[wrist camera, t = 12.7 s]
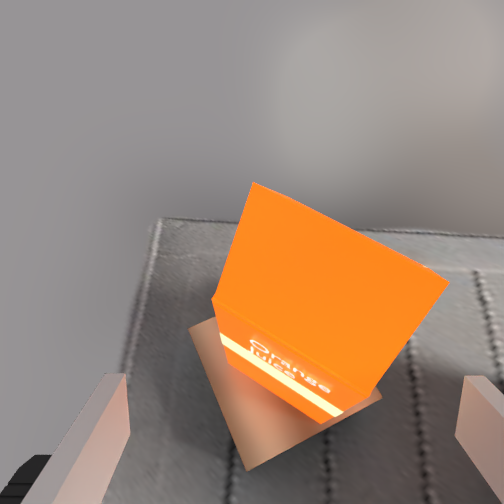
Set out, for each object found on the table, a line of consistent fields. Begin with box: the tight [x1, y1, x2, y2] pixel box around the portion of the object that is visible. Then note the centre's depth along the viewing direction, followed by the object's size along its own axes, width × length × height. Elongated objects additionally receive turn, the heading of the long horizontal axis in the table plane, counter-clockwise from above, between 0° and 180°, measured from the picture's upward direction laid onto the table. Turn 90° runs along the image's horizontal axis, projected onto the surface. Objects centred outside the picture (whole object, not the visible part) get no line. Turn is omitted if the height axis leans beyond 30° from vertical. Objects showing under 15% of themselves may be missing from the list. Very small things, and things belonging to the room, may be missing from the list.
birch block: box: [188, 316, 383, 472], centre depth 36 cm, size 12×12×8 cm
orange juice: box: [212, 182, 450, 424], centre depth 24 cm, size 8×9×20 cm
